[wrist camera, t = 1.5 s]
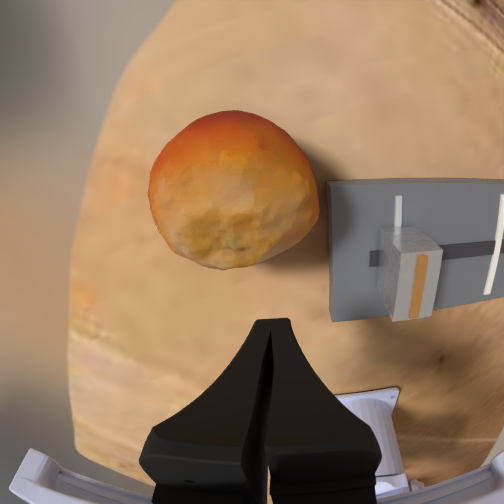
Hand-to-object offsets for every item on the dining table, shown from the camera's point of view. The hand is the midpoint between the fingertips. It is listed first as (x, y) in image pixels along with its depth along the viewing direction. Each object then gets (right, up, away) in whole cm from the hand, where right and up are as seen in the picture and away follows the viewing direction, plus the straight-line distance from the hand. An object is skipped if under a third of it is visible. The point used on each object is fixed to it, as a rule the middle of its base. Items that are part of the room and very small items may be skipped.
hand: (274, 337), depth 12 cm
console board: (+12, +4, +6) cm, 14 cm away
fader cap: (+8, +3, +5) cm, 10 cm away
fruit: (-2, +8, +6) cm, 10 cm away
